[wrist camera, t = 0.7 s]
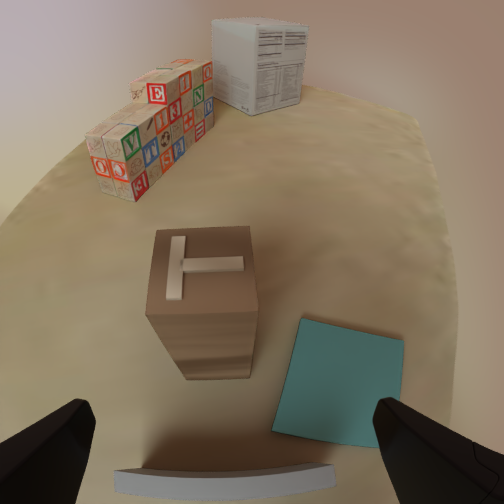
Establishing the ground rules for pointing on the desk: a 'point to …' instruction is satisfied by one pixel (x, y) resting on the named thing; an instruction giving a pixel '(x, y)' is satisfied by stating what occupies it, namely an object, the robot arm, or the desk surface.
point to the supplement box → (258, 62)
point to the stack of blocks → (153, 127)
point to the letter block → (205, 300)
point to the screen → (225, 482)
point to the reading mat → (338, 384)
